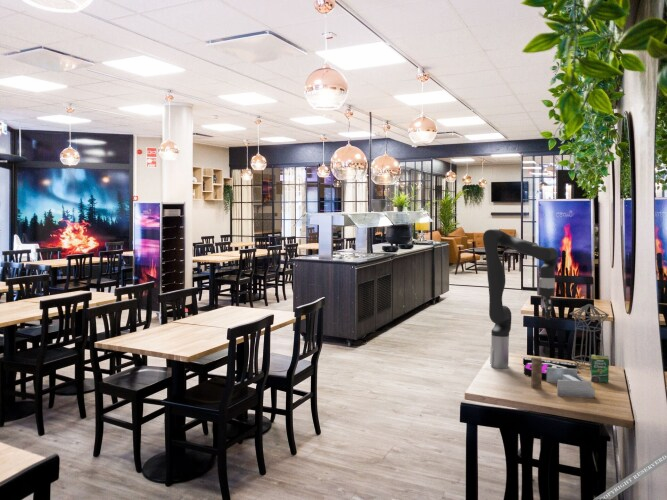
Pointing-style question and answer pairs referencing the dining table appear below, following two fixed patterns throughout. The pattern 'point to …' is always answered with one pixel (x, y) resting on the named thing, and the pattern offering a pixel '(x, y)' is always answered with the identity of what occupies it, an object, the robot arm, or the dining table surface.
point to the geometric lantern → (587, 331)
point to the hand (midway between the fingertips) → (546, 318)
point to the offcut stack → (569, 378)
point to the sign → (545, 364)
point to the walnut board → (536, 373)
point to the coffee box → (599, 368)
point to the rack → (569, 383)
